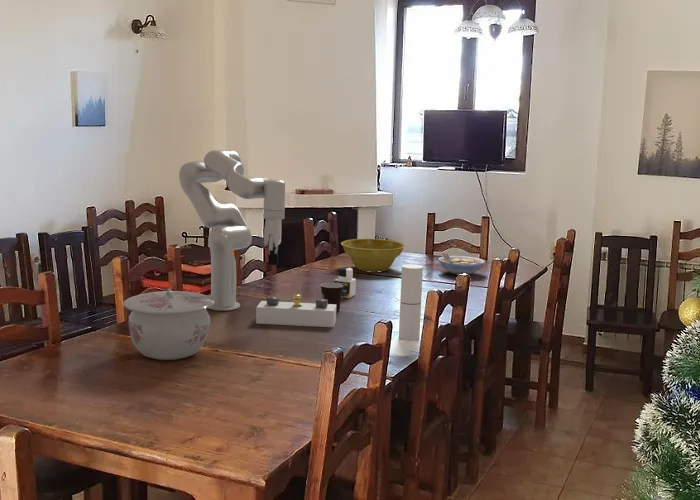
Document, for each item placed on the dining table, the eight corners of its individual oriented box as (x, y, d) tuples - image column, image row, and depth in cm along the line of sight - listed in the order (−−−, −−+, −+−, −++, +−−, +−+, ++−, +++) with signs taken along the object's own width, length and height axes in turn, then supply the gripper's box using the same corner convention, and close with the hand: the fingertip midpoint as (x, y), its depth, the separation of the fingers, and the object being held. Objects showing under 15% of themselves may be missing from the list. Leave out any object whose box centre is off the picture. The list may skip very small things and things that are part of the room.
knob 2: (314, 321, 275) (314, 301, 274) (315, 318, 279) (316, 298, 278) (326, 322, 275) (327, 301, 273) (327, 319, 279) (328, 299, 278)
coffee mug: (339, 313, 291) (340, 288, 289) (317, 312, 293) (318, 286, 291) (345, 307, 302) (346, 282, 301) (324, 305, 304) (325, 280, 302)
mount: (256, 323, 274) (256, 307, 273) (261, 316, 284) (261, 300, 283) (333, 327, 272) (333, 311, 271) (335, 320, 282) (336, 304, 281)
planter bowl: (383, 279, 358) (384, 251, 356) (327, 270, 376) (328, 243, 373) (415, 269, 385) (417, 243, 383) (362, 261, 402) (363, 236, 400)
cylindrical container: (405, 341, 257) (409, 268, 253) (394, 335, 264) (398, 265, 259) (423, 339, 261) (427, 267, 256) (412, 333, 267) (415, 263, 263)
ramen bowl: (488, 280, 364) (489, 263, 363) (440, 278, 364) (441, 262, 363) (479, 270, 389) (480, 254, 387) (435, 268, 389) (436, 253, 388)
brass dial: (292, 309, 275) (292, 295, 275) (293, 307, 278) (293, 294, 278) (300, 309, 275) (300, 296, 274) (301, 307, 278) (301, 294, 277)
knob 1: (265, 319, 276) (265, 298, 275) (267, 316, 280) (267, 296, 279) (277, 319, 276) (277, 299, 275) (279, 316, 280) (279, 296, 279)
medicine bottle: (333, 296, 320) (334, 268, 318) (340, 293, 327) (341, 265, 325) (349, 298, 317) (350, 270, 315) (355, 295, 324) (356, 267, 322)
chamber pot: (169, 374, 217) (169, 303, 213) (104, 356, 231) (102, 289, 228) (234, 351, 240) (234, 287, 237) (171, 336, 254) (170, 275, 251)
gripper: (267, 211, 279) (266, 260, 283) (259, 216, 265) (258, 268, 268) (287, 212, 279) (286, 261, 282) (281, 217, 264) (279, 269, 267)
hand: (272, 264), depth 275 cm, fingers closed
